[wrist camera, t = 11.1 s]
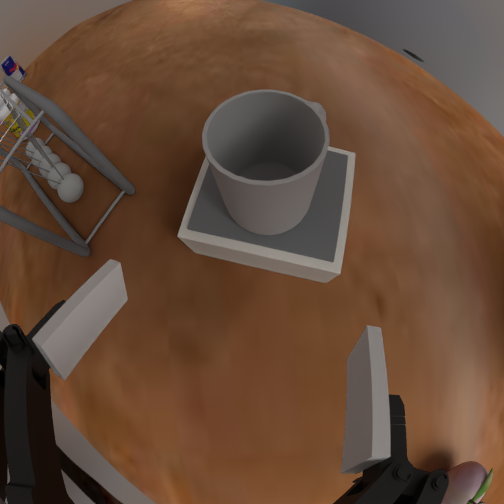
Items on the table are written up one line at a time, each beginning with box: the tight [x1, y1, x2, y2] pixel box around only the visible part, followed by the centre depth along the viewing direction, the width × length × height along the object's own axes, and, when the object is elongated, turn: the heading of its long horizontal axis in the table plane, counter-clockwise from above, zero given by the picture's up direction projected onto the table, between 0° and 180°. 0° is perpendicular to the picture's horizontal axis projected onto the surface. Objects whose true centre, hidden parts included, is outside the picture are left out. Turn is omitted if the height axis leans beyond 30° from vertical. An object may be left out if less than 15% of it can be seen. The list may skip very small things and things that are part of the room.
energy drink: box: [0, 55, 26, 82], centre depth 41 cm, size 5×5×12 cm
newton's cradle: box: [0, 75, 135, 257], centre depth 24 cm, size 30×10×18 cm, turn 54°
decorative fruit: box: [441, 461, 493, 504], centre depth 14 cm, size 9×8×10 cm
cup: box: [202, 89, 330, 235], centre depth 19 cm, size 7×10×9 cm
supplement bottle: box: [0, 88, 40, 141], centre depth 32 cm, size 7×7×13 cm
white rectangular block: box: [177, 146, 355, 283], centre depth 26 cm, size 14×12×6 cm
